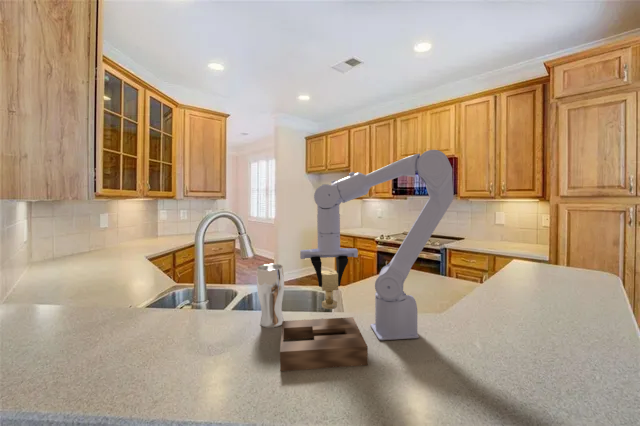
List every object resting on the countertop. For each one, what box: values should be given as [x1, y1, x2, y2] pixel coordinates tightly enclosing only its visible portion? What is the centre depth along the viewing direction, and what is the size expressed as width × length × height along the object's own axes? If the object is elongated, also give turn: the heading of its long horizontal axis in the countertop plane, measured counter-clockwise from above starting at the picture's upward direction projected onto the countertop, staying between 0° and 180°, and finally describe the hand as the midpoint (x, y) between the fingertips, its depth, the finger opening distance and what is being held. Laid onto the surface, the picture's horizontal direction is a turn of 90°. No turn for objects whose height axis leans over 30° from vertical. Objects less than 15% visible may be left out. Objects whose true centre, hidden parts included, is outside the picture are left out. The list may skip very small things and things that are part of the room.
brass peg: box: [320, 269, 339, 310], centre depth 76 cm, size 4×4×9 cm
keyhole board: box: [279, 316, 369, 372], centre depth 64 cm, size 17×14×4 cm
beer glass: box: [256, 263, 285, 329], centre depth 78 cm, size 7×7×15 cm
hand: (329, 285), depth 76 cm, fingers closed on brass peg, 4 cm apart
